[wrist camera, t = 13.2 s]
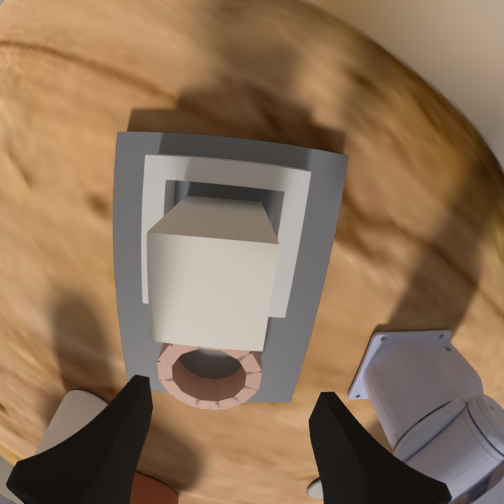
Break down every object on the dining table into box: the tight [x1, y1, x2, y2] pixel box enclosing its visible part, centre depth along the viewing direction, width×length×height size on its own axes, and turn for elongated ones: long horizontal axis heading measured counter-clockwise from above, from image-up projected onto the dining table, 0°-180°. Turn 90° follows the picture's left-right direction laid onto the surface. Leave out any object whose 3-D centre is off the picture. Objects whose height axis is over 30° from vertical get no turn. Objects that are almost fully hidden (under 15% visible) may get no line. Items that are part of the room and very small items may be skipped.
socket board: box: [113, 132, 348, 410], centre depth 19 cm, size 14×20×4 cm
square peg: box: [147, 196, 279, 351], centre depth 14 cm, size 4×4×8 cm
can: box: [34, 390, 108, 455], centre depth 19 cm, size 6×6×12 cm
